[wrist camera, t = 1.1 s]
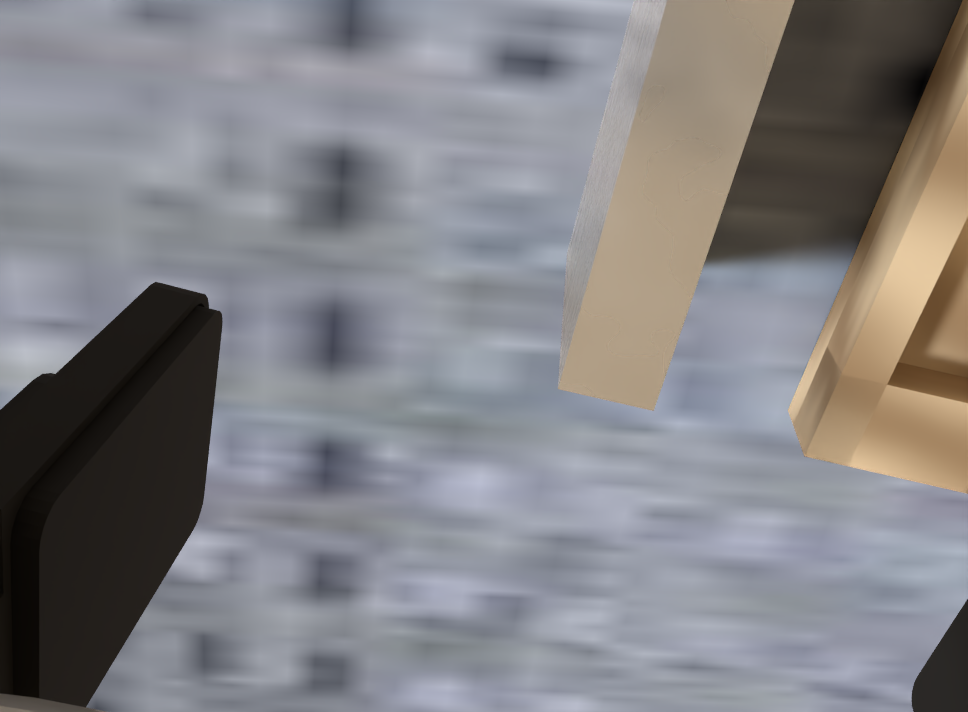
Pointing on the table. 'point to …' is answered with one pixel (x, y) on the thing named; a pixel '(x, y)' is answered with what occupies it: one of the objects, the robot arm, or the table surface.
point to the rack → (904, 308)
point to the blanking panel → (660, 186)
